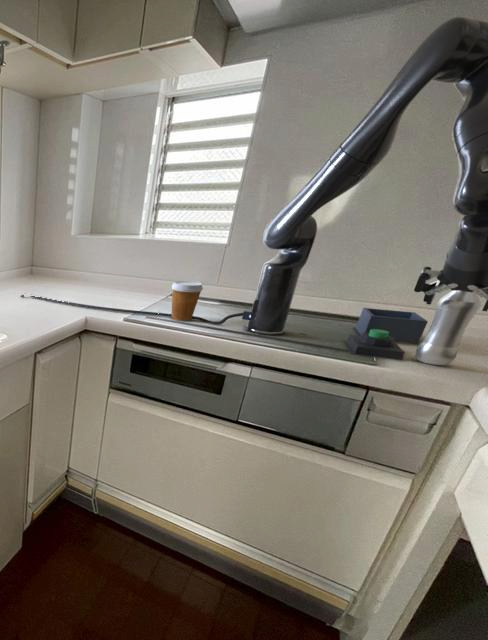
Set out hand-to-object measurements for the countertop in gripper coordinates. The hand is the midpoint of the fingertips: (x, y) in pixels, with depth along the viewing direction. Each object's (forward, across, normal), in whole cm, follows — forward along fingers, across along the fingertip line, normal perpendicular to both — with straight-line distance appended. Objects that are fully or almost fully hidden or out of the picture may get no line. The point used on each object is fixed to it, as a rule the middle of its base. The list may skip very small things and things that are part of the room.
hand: (456, 304), depth 90 cm
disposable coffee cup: (+8, +60, +13) cm, 62 cm away
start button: (+11, +11, +5) cm, 16 cm away
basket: (+28, +12, -6) cm, 31 cm away
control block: (+13, +11, +8) cm, 19 cm away
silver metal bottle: (+13, 0, +9) cm, 15 cm away
